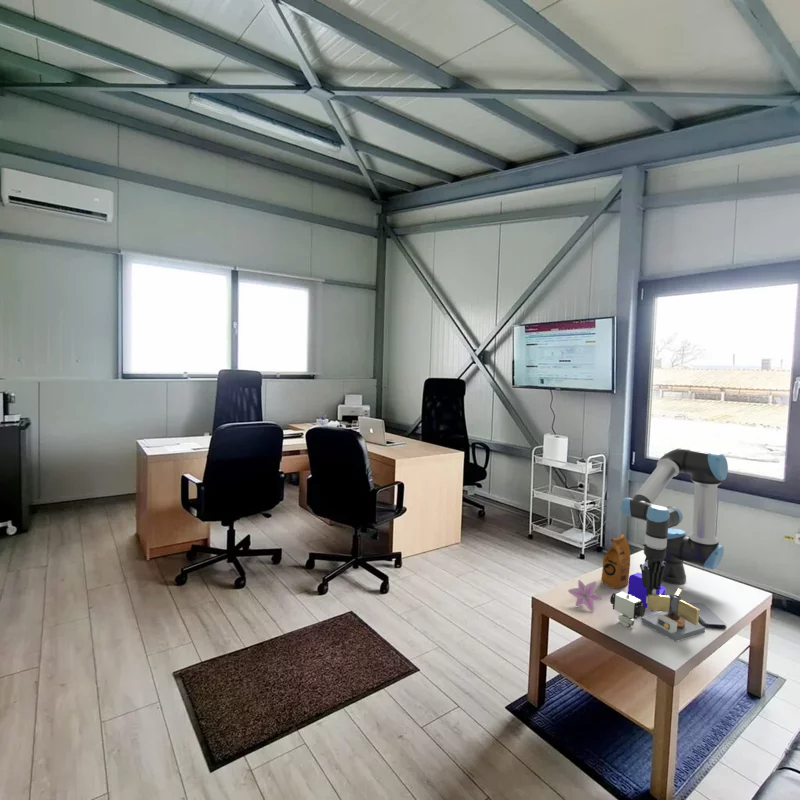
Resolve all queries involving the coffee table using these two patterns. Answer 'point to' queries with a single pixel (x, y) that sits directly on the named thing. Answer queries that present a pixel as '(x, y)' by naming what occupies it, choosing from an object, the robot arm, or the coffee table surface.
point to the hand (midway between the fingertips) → (650, 604)
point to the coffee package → (617, 564)
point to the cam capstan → (674, 608)
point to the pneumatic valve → (627, 607)
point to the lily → (585, 594)
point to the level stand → (671, 626)
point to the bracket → (640, 588)
